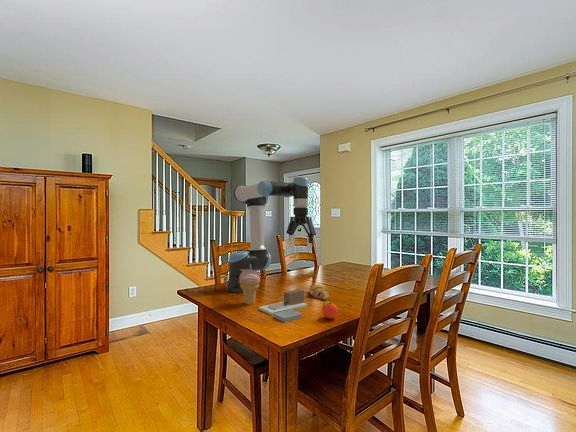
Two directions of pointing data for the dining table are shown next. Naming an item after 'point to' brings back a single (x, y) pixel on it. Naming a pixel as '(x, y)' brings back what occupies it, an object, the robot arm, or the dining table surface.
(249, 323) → the dining table surface
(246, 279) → the ice cream cone
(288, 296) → the brown grey long block
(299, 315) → the tile
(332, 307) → the clementine
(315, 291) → the croissant
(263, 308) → the board
